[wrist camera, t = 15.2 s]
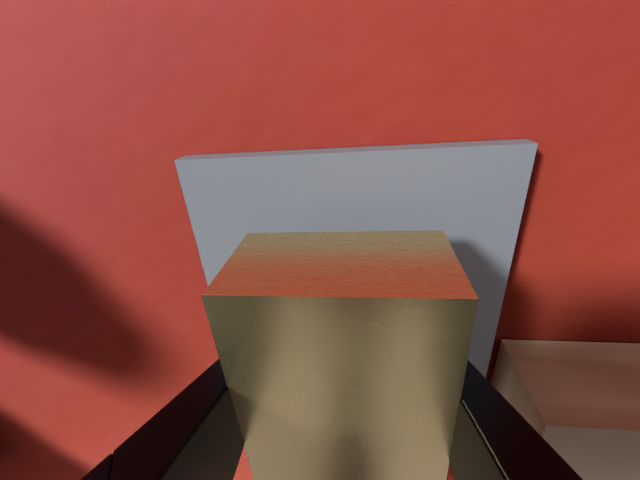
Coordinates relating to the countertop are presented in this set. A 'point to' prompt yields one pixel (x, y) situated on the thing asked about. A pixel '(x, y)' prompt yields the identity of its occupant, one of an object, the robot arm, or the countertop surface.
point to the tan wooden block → (344, 352)
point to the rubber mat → (372, 204)
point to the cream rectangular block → (578, 400)
